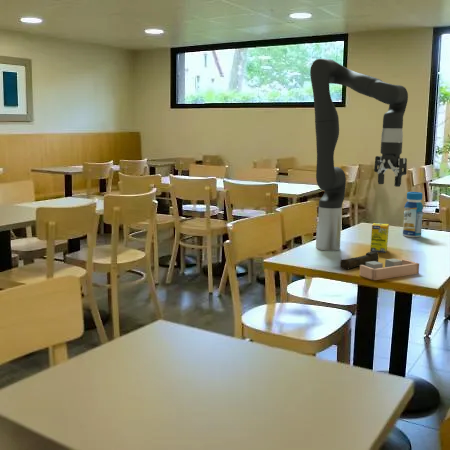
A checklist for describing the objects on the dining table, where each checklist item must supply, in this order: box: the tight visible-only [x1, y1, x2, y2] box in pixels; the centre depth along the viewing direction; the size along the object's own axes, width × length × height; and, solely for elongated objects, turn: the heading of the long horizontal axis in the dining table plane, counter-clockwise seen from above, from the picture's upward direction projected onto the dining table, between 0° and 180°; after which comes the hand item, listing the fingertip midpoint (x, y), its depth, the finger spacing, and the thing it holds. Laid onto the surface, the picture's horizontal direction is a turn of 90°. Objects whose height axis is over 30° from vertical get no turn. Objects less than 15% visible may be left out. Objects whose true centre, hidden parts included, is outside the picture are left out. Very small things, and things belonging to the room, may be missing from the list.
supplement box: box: [369, 222, 390, 254], centre depth 229 cm, size 6×6×11 cm
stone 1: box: [364, 261, 384, 269], centre depth 195 cm, size 4×4×4 cm
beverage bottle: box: [402, 191, 424, 238], centre depth 261 cm, size 8×8×20 cm
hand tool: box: [339, 251, 379, 271], centre depth 206 cm, size 19×4×5 cm, turn 125°
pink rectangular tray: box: [359, 258, 420, 281], centre depth 194 cm, size 7×20×4 cm, turn 117°
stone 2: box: [384, 258, 402, 267], centre depth 199 cm, size 4×4×4 cm
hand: (389, 185), depth 211 cm, fingers open, 8 cm apart
